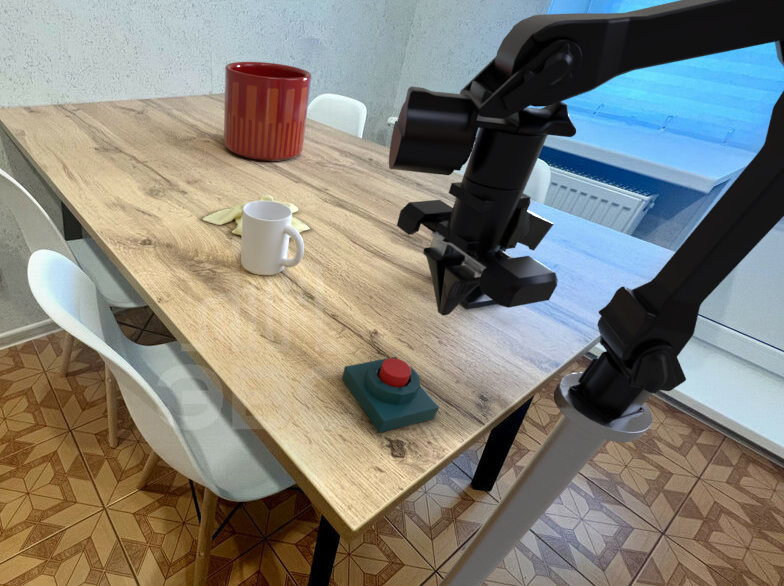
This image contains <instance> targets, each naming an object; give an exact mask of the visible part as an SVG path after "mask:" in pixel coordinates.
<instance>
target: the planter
mask: <svg viewBox="0 0 784 586" xmlns="http://www.w3.org/2000/svg"><path fill="white" fill-rule="evenodd" d="M311 82H312V73H310V72H309V71H308V70H306V69H303V68H300V67H296V66H291V65H288V64H281V63H275V62H274V63H273V62H265V61H264V62H263V61H234V62H229V63H228V64H226V65H225V67H224V104H223V105H224V106H223V109H224V110H223V112H224V113H223V143H224V146H225V148H226V149H227V150H228V151H230V152H231V153H233V154H235V155H236V156H239V157H242V158H245V159H249V160H254V161H261V162H283V161H288V160H291V159H294V158H296V157H299V156H300V155H301V154H302V152H303V150H304V142H305V135H306V127H307V119H308V110H309V100H310V94H311V93H310V92H311V85H312V84H311Z"/></svg>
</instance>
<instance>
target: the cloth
mask: <svg viewBox="0 0 784 586" xmlns="http://www.w3.org/2000/svg"><path fill="white" fill-rule="evenodd" d="M257 201H274V202H278V203H281V204H284V205H286V206H287V207H289V208H290V209H291V211H292V214H294V213H296V212H298V211H299V208H298V206H296V205H295V204H293V203H291V202H287V201H283V200H276V199H274V198H273V197H272V196H271V195H269V194H262V195H261V197H260V198H259V199H258V200H257ZM247 203H248V202H239V203H237V204H235V205H233V207H232V208H225V209H221V210H218V211H216V212H213V213H210V214H209V215H207V216H205V217H203V218H201V219H202V221H204V222H206V223H210V224H213V225H217V226H222V225H224V224H228V223H230V222H232V221H233V220H234V221H235V224H236V227H235V229H233V230H232V231H231V233H232V234H234V235H237V236H241V237H242V216H243V207H244V205H246V204H247ZM291 226H292V227H293V228H295V229H296V230H297V231H298V232H299V234H301V233H302V232H303V233H304V232H305V231H308V230H311V228H310V227H309V226H308V225H307V224H306V223H305V222H303V221H302V220H300V219H298V218H296V217H295V216H292V218H291ZM289 239H292V237H290V236H289Z"/></svg>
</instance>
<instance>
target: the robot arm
mask: <svg viewBox="0 0 784 586" xmlns="http://www.w3.org/2000/svg"><path fill="white" fill-rule="evenodd" d="M772 43H774V45H775V52H776V57H777V60H778V62H779V63H780V64H781V65H782V67H784V0H675V1H671V2H666V3H662V4H657V5H653V6H649V7H644V8H640V9H636V10H632V11H627V12H626V11H625V12H607V13H605V12H604V13H599V12H598V13H596V12H595V13H594V12H593V13H591V12H590V13H589V12H588V13H586V12H584V13H581V12H579V13H578V12H575V13H549V14H548V13H547V14H546V13H545V14H535V15H534V14H533V15H531V16H529V17H526V18H524V19H521V20H520V21H518V22H517V23H516V24H514V25H513V26H512V28H510V31H509V32H508V33H507V34H506V35H505V37H503V39H502V41H501V43H500V45H499V47H498V48H497V52H496V55H495V56H494V58H493V59H491V60H490V62H489V63H487V64H486V66H484V68H482V69H481V70H480V71H479V72H478V73H477V74H476V75H475V76H474V77H473V78H472V79H471V80H470V81H469V82H468V83H467V84H466V85H465V86H464V87H463V88H461V90H460V92H459V93H454V92H453V93H452V92H444V91H443V92H442V91H435V90H430V89H428V88H425V87H419V86H410V87H408V88H407V92H406V96H405V101H404V102H403V104H402V106H401V108H400V111H399V113H398V117H397V120H396V121H394V125H393V130H392V134H391V139H390V145H389V154H388V168H389V169H390V170H395V171H404V172H412V173H413V172H414V173H422V174H430V175H431V174H432V175H442V176H450V175H452V174H453V172H454V171H461V169H462V168H463V166H464V165H466V164H467V165H466V167H465V171H464V174H463V176H462V179H461V181H459V182H458V181H457V182H451V183H450V187H449V189H448V194H449V195H451V196H453V197H454V198H455V199H454V203H453V206H450V205H449V204H447V203H446V202H444V201H443V200H441V199H434V200H433V199H432V200H420V201H410V202H408V203H407V204H405V206H404V207H403V208H401V209H400V211H399V215H398V219H397V223H396V227H397V228H400V230H401V231H403V232H404V233H406V234H407V235H408V236H411V235H414V234H416V233H418V232H420V228H421V225H422V226H423V227H425V228H426V229H428V230H429V231H430V232H431V234H430V236H431V238H432V239H431V242H430V244H429V245H430V246H429V247H424V248H423V250H422V253H423V255H424V256H425V257H426V261H427V264H428V269H429V273H430V277H431V280H432V286H433V291H434V296H435V301H436V307H437V312H438V314H440V315H441V316H442V317H443V316H448V315H450V314H451V313H452V312H453V311H455V309H456V308H457V307H458V306H460V305H461V304H460V303H461V302H462V301H463V299H464V298H465V297H466V296H467V295H468V294H469V293H470V292H471V291H472V290H473V289H474V288H476V287H477V286H478V285H479V284H480V288H481V291H482V292H483V293H484V294H486V295H487V296H488V297H489V298H491V299H492V300H493V301H495V302H496V303H497V304H496V305H499V306H500V307H504V308H507V309H509V308H514V307H519V306H525V305H530V304H535V303H541V302H546V301H549V300H551V297H552V296H553V293H554V292H555V290H556V288H557V286H558V282H559V281H558V275H557V273H556V272H555V271H554V270H552V269H551V268H549V267H548V266H546V265H544V264H543V263H541V262H539V260H536V259H535V258H533V257H532V256H530V255H522V256H517V257H514V258H510V257H509V256H507V255H506V254H504V253H503V252H501V251H500V250H498V249H499V248H500V247H504V248H505V249H506V250H509V249H516V247H517V244H521V245H523V246H526V247H528V249H529V250H531V251H535V250H536V249H537V248H538V246H539V245H540V244H541V242H543V241H542V240H544V238H545V237H546V236H547V234H548V233H549V231H550V230H551V229H552V228H553V226H554V225H555V224H554V223H553V222H551V221H550V220H547V218H544V217H542V216H540V215H539V214H536V213H534V212H532V211H531V210H529V207H530V206H531V196H529V195H528V194H526V193H524V192H525V190H526V187H527V184H528V182H529V180H530V178H531V176H532V173H533V170H534V169H535V166H536V164H537V161H538V159H539V157H540V155H541V152H542V149H543V147H544V145H545V143H546V140H547V138H548V136H555V137H565V138H572V137H574V136H575V135H576V134H577V132H578V131H577V130H578V129H577V128H576V126H575V125H574V123H573V122H572V119H571V118H570V117H571V116H570V114H569V110H568V107H569V106H568V104H566V103H565V101H567V100H570V99H572V98H575V97H577V96H581V95H583V94H585V93H588V92H591V91H594V90H595V89H597V88H599V87H601V86H602V85H604V84H606V83H608V82H610V81H611V80H613V79H614V78H617V77H619V76H622V75H625V74H628V73H630V72H633V71H638V70H643V69H647V68H652V67H657V66H661V65H666V64H667V65H668V64H672V63H677V62H681V61H687V60H691V59H697V58H701V57H706V56H711V55H716V54H722V53H726V52H727V53H728V52H732V51H736V50H741V49H746V48H751V47H757V46H761V45H767V44H772ZM534 107H535V108H534ZM539 107H540V108H539ZM541 107H542V108H541ZM783 218H784V90H782V92H781V94H780V95H779V97H778V99H777V101H775V103H774V105H773V107H772V111H771V115H770V119H769V123H768V127H767V132H766V136H765V140H764V143H763V145H762V146H761V148H760V150H759V151H758V152H757V153H756V155H755V156H754V157H753V158H752V159H751V161H750V162H749V163H748V164H747V165H746V167H745V168H744V169H743V170H742V171H741V173H740V174H739V175H738V176H737V178H736V179H735V180H734V181H733V182H732V183H731V185H730V186H729V187H728V189H727V190H726V191H725V192H724V193H723V195H722V196H721V197H720V198H719V199H718V201H717V202H716V203H715V204H714V206H712V208H710V210H709V211H708V212H707V214H706V215H705V216H704V217H703V219H702V220H701V221H700V222H699V223H698V224H697V225H696V227H695V228H694V229H693V230H692V232H691V233H690V234H689V235H688V237H687V238H686V239H685V240H684V241H683V242H682V244H681V245H680V246H679V247H678V249H677V250H676V251H675V252H674V254H673V255H672V256H671V257H669V258H670V259H669V260H667V262H666V263H665V264H664V265H663V267H662V268H661V269H660V270H659V272H658V273H657V274H656V275H655V276H654V277H653V278H652V279H651V280H650V281H648V282H645V283H644V284H641V285H639V286H636V287H635V288H632V289H631V288H629V287H626V286H620V287H619V288H617V289H616V291H615V292H614V294H613V296H612V298H611V299H610V301H609V302H608V303H607V304H606V306H604V307H602V308H601V309H600V310H598V314H599V315H600V317H599V319H598V321H597V325H596V326H597V329H598V332H599V334H600V336H599V337H600V338H599V344H600V345H601V346H602V347H603V348H604V350H605V351H602V352H601V354H600V355H599V356H598V357H594V358H592V360H591V361H590V362H589V364H588V365H587V367H586V368H585V369H584V371H583V372H582V373H583V374H582V375H581V377H580V378H579V379H578V382H579V383H580V384H576V385H572V386H571V387H570V388H569V390H570V391H571V392H572V393H573V394H575V395H576V396H577V397H578V398H579V399H581V400H582V401H583V402H584V403H585V404H586V405H588V406H589V407H590V408H591V409H592V410H593V411H595V412H596V413H597V414H598V415H599V416H601V417H602V418H603V419H604V420H605V421H607V422H609V423H612V422H615V421H619V420H622V419H625V418H629V417H632V416H635V415H639V414H642V413H643V412H644V409H643V408H642V407H641V406H642V405H643V404H644V403H645V404H646V402H647V401H648V399H649V398H650V397H651V396H652V395H653V394H657V392H660V391H663V392H671V391H673V390H674V389H676V388H677V387H678V386H680V385H682V384H683V383H685V382H686V380H687V378H686V375H685V373H684V370H683V368H682V366H681V363H680V361H679V359H678V356H679V355H680V354H681V353H682V351H683V349H685V347H686V345H687V344H688V343H689V342H690V340H691V339H692V337H694V335H695V331H696V326H697V322H698V317H699V315H700V314H699V313H700V309H701V306H702V304H703V303H704V302H705V300H706V299H707V298H708V297H709V296H710V295H711V294H712V293H713V292H714V291H715V290H716V289H717V287H718V286H719V285H720V284H722V282H723V281H724V280H725V279H726V278H727V277H728V276H729V275H730V274H731V273H732V271H734V270H735V269H736V268H737V266H738V265H740V263H741V262H742V261H743V260H744V259H746V257H747V256H748V255H749V254H750V253H751V252H752V250H753V249H755V247H756V246H757V245H758V244H759V243H760V242H761V241H762V240H763V239H764V238H765V237H766V236H767V235H768V234H769V233H770V231H771V230H772V229H773V228H774V227H775V226H776V225H777V224H778V223H779V222H780V221H781V220H782V219H783Z"/></svg>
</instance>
